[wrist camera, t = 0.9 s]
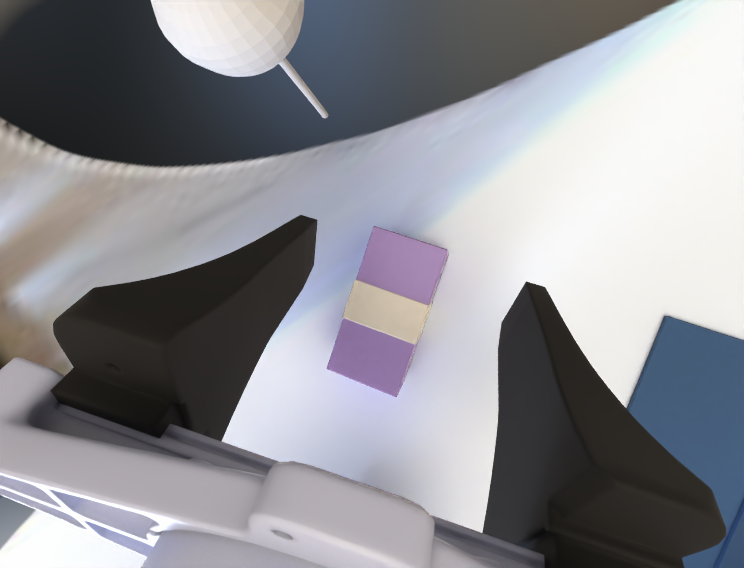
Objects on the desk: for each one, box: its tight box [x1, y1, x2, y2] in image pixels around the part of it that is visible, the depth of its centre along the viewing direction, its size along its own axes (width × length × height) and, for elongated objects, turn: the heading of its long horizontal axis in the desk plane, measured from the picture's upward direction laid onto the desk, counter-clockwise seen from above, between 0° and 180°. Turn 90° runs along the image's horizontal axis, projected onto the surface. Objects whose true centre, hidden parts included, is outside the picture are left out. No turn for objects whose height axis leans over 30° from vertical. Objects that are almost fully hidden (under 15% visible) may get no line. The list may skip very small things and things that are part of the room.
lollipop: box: [151, 0, 328, 118], centre depth 20 cm, size 6×6×15 cm
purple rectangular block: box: [327, 226, 448, 397], centre depth 25 cm, size 9×5×4 cm, turn 161°
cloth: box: [627, 316, 744, 568], centre depth 23 cm, size 15×11×1 cm
